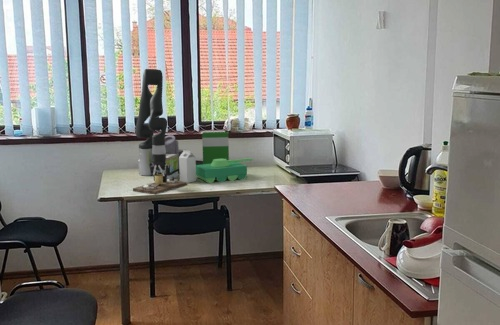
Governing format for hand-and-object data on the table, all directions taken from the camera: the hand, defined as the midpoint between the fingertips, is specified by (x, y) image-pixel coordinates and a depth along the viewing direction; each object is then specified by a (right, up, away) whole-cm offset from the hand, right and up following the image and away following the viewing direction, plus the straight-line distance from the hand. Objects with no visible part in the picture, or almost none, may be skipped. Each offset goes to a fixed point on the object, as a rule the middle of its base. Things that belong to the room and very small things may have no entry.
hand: (160, 181), depth 306 cm
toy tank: (+37, +1, +26) cm, 45 cm away
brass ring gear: (0, -1, 0) cm, 1 cm away
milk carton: (+14, -1, +17) cm, 22 cm away
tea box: (0, +1, +26) cm, 26 cm away
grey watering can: (0, +5, +51) cm, 51 cm away
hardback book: (+28, +8, +63) cm, 70 cm away
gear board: (0, -4, +1) cm, 4 cm away
